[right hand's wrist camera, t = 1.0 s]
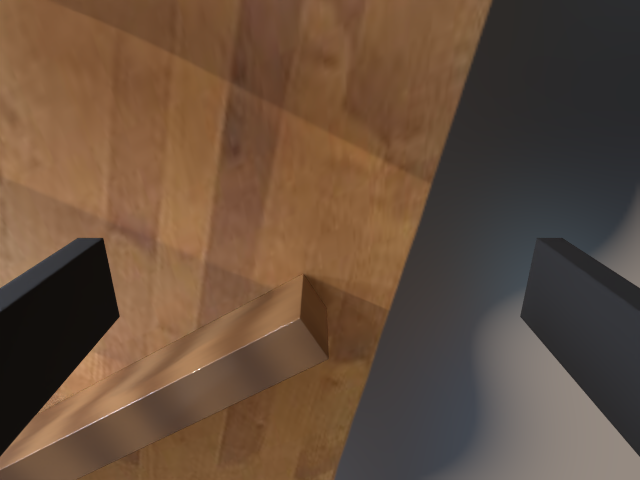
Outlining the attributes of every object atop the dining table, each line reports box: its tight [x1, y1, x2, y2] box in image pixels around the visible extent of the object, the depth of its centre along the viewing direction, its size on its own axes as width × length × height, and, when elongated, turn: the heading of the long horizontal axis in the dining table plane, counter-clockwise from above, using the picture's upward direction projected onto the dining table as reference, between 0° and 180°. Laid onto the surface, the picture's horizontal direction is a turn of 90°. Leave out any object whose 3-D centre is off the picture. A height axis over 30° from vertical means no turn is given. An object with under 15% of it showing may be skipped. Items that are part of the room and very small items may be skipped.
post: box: [0, 274, 329, 480], centre depth 46 cm, size 72×5×9 cm, turn 120°
